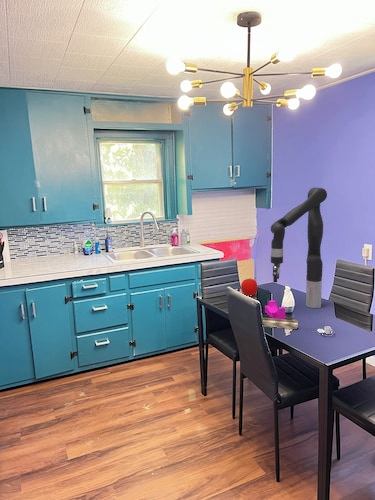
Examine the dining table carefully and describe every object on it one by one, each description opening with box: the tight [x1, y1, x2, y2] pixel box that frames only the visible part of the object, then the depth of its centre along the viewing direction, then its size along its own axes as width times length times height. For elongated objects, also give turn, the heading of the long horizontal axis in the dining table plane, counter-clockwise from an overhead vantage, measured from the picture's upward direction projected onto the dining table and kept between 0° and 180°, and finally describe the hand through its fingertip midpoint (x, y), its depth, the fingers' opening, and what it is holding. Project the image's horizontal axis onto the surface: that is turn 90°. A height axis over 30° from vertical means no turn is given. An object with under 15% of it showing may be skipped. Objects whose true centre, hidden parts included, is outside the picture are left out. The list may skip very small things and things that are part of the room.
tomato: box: [240, 278, 258, 297], centre depth 265 cm, size 12×12×13 cm
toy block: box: [264, 299, 286, 320], centre depth 225 cm, size 15×6×8 cm, turn 12°
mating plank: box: [262, 317, 299, 330], centre depth 209 cm, size 20×4×4 cm, turn 69°
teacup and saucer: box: [316, 325, 333, 335], centre depth 197 cm, size 9×8×4 cm
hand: (276, 280), depth 234 cm, fingers open, 8 cm apart
